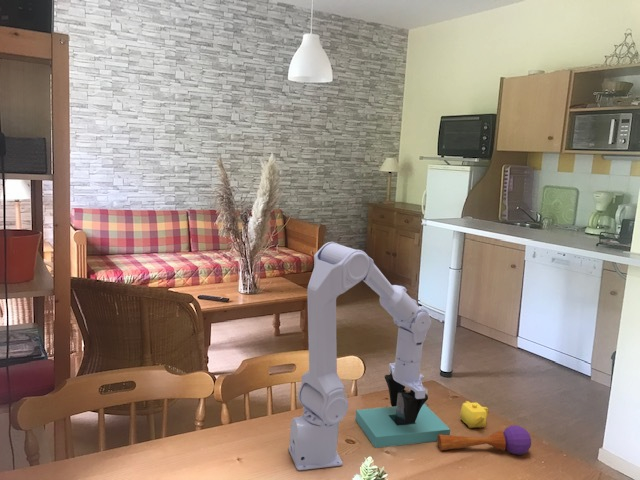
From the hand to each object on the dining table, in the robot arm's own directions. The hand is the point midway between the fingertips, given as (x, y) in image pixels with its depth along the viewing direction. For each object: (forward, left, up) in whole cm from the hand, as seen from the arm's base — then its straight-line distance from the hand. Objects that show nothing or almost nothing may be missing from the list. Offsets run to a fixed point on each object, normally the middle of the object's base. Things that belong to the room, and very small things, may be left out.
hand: (402, 413), depth 120 cm
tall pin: (0, 0, -4) cm, 4 cm away
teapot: (+19, -1, -4) cm, 19 cm away
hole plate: (0, 0, -4) cm, 4 cm away
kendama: (+14, -11, -4) cm, 19 cm away
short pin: (+10, +10, -4) cm, 15 cm away
